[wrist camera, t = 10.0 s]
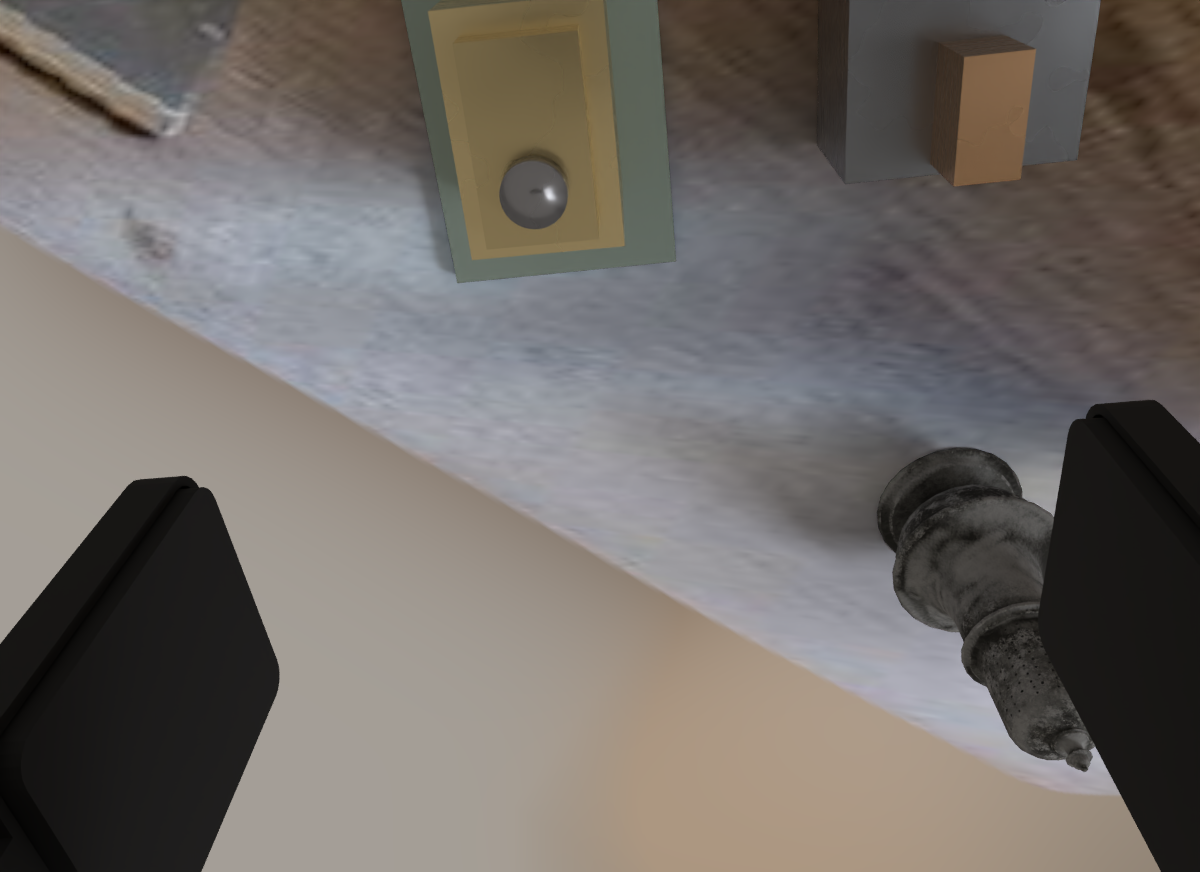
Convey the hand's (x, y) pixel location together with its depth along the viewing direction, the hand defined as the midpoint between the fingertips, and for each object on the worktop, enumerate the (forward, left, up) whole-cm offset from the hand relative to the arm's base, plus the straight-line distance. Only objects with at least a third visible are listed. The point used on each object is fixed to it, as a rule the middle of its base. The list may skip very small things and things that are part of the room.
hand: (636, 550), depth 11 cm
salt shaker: (-11, +15, -21) cm, 28 cm away
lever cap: (+2, -1, -20) cm, 20 cm away
